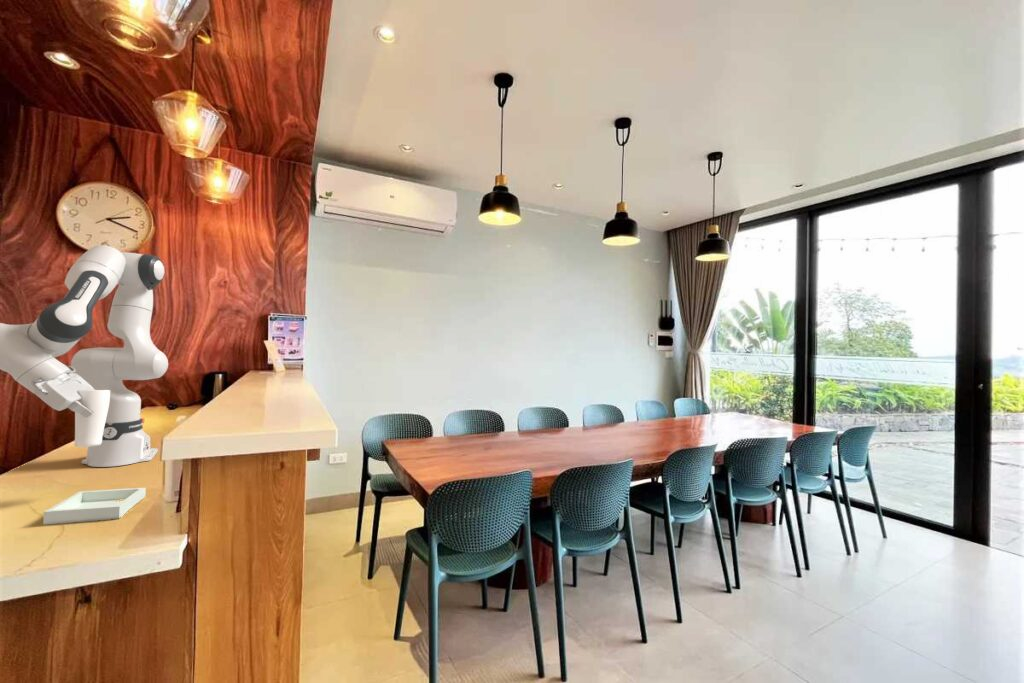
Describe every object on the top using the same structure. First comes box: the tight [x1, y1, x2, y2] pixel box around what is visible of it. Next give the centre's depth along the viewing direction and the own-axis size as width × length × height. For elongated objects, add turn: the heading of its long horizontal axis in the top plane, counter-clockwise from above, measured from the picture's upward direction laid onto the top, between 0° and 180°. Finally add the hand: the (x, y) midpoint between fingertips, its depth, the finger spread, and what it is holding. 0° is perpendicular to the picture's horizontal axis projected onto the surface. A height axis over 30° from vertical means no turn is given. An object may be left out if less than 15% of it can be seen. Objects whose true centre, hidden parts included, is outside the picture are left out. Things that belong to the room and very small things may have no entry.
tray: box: [42, 487, 147, 526], centre depth 109 cm, size 14×14×3 cm
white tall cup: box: [74, 390, 110, 448], centre depth 118 cm, size 7×7×15 cm
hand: (95, 412), depth 119 cm, fingers closed on white tall cup, 6 cm apart
